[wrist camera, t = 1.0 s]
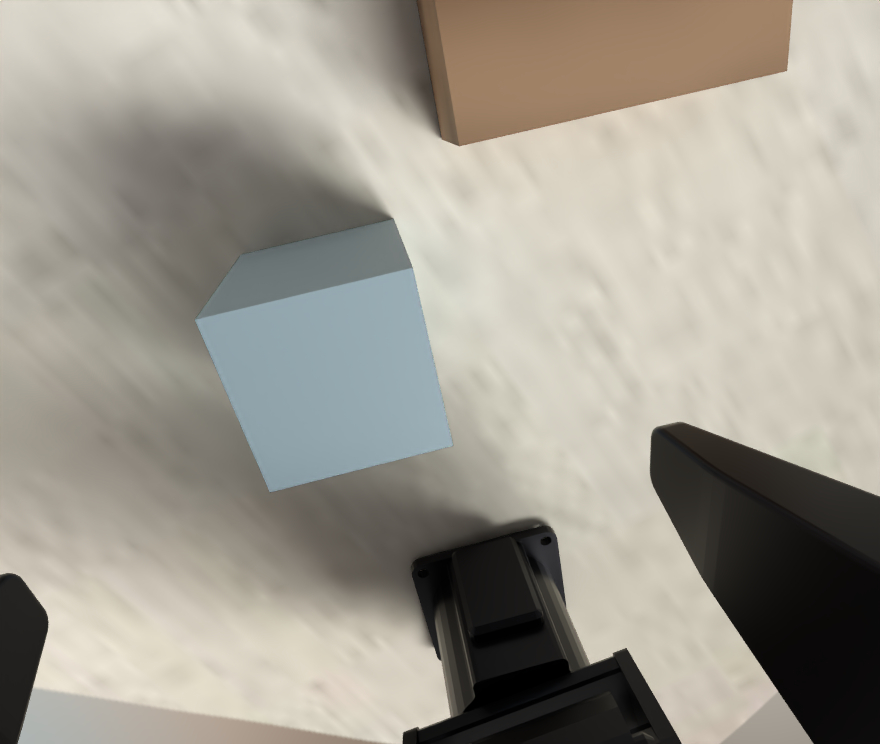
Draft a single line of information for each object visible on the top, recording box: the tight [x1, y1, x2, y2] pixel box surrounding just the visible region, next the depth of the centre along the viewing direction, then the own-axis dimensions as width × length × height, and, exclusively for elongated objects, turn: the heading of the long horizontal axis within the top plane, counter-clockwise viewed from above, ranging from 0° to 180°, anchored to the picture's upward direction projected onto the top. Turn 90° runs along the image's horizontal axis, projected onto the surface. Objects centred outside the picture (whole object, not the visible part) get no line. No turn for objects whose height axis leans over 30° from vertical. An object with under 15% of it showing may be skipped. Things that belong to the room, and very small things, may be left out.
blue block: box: [195, 219, 453, 492], centre depth 16 cm, size 5×5×6 cm
